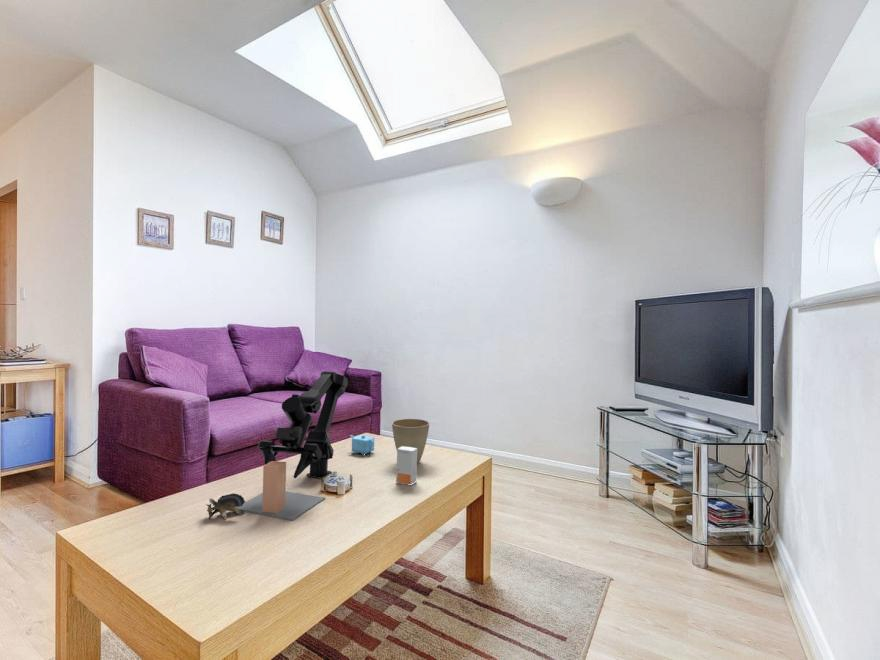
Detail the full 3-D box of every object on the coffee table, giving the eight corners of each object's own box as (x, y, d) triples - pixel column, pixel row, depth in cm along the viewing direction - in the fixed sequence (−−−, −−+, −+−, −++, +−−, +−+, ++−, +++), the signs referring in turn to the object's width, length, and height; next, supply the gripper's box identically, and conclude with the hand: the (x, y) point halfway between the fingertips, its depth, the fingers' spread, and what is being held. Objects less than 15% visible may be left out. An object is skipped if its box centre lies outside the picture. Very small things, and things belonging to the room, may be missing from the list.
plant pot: (393, 456, 179) (394, 418, 179) (429, 457, 179) (430, 419, 178) (388, 468, 164) (389, 426, 164) (427, 469, 164) (428, 427, 164)
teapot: (345, 452, 183) (345, 434, 183) (353, 448, 189) (354, 431, 189) (368, 456, 178) (369, 438, 178) (377, 453, 183) (377, 435, 183)
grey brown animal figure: (211, 523, 113) (247, 509, 118) (204, 496, 116) (240, 484, 121) (210, 528, 119) (245, 515, 124) (204, 503, 121) (238, 490, 126)
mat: (270, 489, 140) (270, 488, 140) (325, 498, 134) (325, 497, 134) (233, 509, 124) (233, 507, 124) (292, 520, 118) (292, 519, 118)
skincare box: (395, 483, 148) (396, 448, 148) (401, 479, 152) (402, 445, 152) (411, 486, 146) (412, 451, 146) (416, 482, 150) (417, 447, 150)
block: (270, 505, 127) (271, 460, 127) (285, 506, 126) (286, 462, 126) (262, 511, 122) (263, 465, 122) (277, 513, 122) (278, 466, 122)
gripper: (261, 414, 133) (239, 461, 123) (318, 417, 131) (301, 466, 120) (274, 433, 141) (254, 478, 131) (328, 436, 139) (313, 483, 128)
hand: (279, 476), depth 127 cm, fingers open, 9 cm apart
